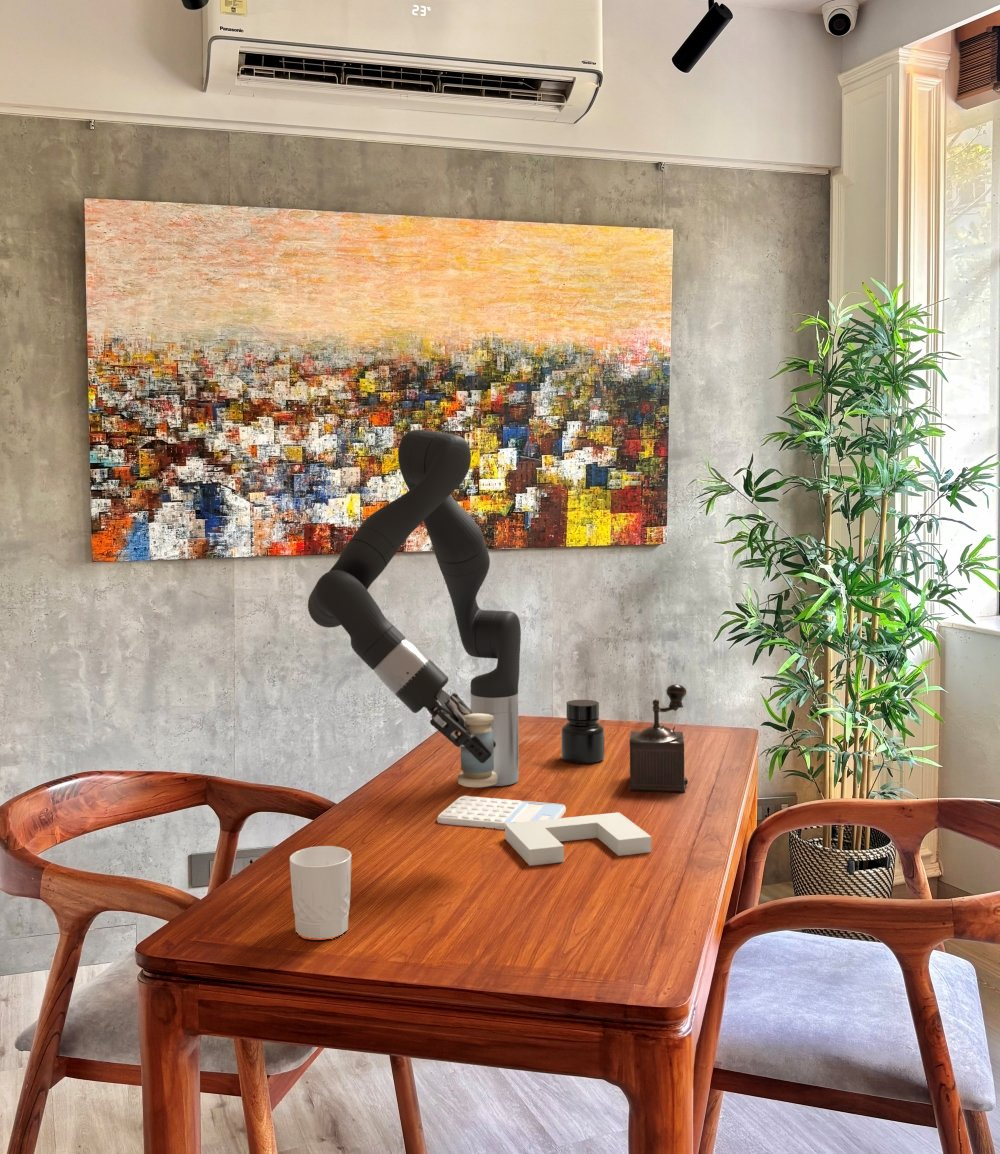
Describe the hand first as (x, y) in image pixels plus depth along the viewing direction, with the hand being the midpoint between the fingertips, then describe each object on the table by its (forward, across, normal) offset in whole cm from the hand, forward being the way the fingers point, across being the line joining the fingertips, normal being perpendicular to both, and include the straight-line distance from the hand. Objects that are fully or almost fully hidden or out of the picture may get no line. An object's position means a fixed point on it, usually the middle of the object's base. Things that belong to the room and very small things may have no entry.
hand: (489, 753), depth 164 cm
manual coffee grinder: (+32, +46, -7) cm, 56 cm away
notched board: (+21, +8, +3) cm, 23 cm away
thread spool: (+2, 0, +4) cm, 5 cm away
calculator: (+12, +22, +13) cm, 28 cm away
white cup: (-2, -28, +25) cm, 38 cm away
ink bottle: (+21, +62, +4) cm, 65 cm away
